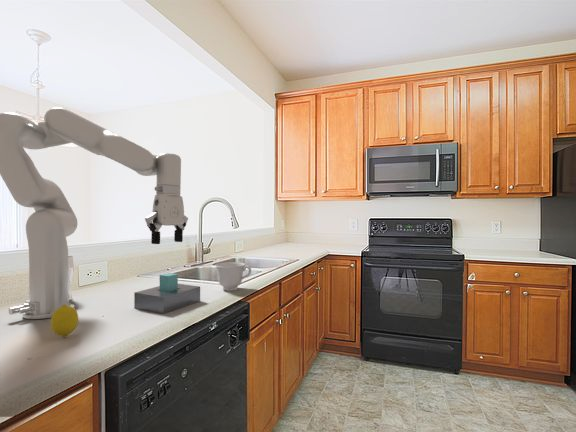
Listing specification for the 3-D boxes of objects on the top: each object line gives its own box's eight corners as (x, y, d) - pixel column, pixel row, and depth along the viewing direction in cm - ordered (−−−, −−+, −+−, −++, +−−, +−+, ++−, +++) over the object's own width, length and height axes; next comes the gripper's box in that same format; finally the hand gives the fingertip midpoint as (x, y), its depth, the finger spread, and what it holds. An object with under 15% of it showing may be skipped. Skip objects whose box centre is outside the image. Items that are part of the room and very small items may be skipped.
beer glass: (78, 298, 114) (78, 256, 114) (59, 303, 107) (59, 258, 107) (63, 296, 116) (63, 255, 115) (44, 302, 109) (43, 258, 109)
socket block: (163, 313, 97) (163, 297, 97) (134, 308, 102) (134, 292, 102) (200, 300, 111) (200, 286, 111) (172, 296, 117) (172, 282, 117)
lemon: (83, 332, 81) (83, 301, 81) (68, 341, 76) (68, 308, 76) (60, 333, 81) (60, 301, 81) (45, 341, 76) (44, 308, 76)
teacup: (244, 294, 120) (244, 267, 120) (209, 291, 124) (209, 265, 124) (256, 287, 132) (256, 263, 132) (223, 284, 136) (223, 261, 136)
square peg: (168, 306, 104) (168, 276, 104) (159, 305, 106) (159, 275, 106) (177, 303, 108) (177, 274, 108) (168, 302, 110) (168, 273, 109)
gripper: (155, 189, 97) (154, 245, 97) (195, 193, 113) (194, 241, 113) (138, 189, 100) (137, 244, 100) (179, 193, 116) (178, 240, 116)
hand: (167, 242), depth 106 cm, fingers open, 9 cm apart
